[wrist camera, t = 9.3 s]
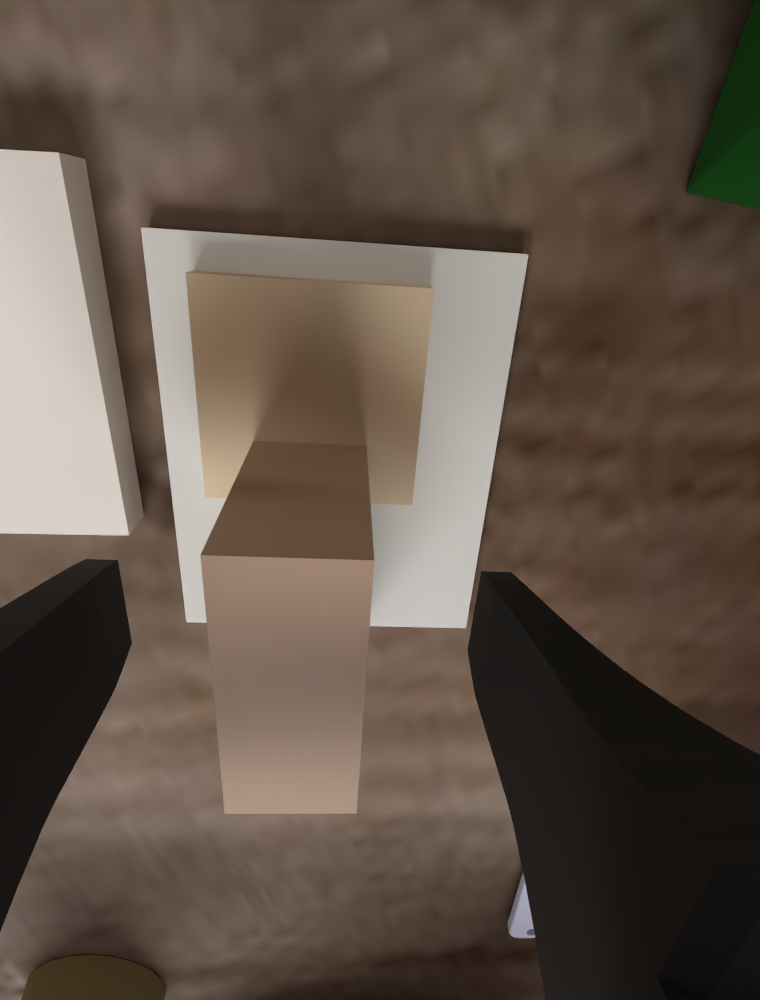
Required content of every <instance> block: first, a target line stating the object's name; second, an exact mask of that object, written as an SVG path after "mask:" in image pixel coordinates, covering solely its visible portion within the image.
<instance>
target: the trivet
mask: <svg viewBox="0 0 760 1000" xmlns="http://www.w3.org/2000/svg"><path fill="white" fill-rule="evenodd" d="M141 233H142V242H143V250H144V259H145V268H146V276H147V285H148V294H149V302H150V311H151V320H152V328H153V337H154V346H155V354H156V363H157V372H158V380H159V389H160V398H161V406H162V415H163V424H164V432H165V441H166V450H167V458H168V467H169V476H170V484H171V493H172V501H173V510H174V519H175V527H176V536H177V545H178V553H179V562H180V571H181V579H182V588H183V597H184V605H185V614H186V622H202V623H207V621H206V610H205V600H204V589H203V579H202V568H201V558H200V555H201V553H202V550H203V548H204V546H205V544H206V542H207V540H208V537H209V535H210V533H211V531H212V529H213V527H214V525H215V522H216V520H217V518H218V516H219V514H220V512H221V509H222V507H223V505H224V503H225V501H226V499H227V498H205V493H204V481H203V470H202V458H201V447H200V435H199V423H198V412H197V400H196V389H195V377H194V365H193V354H192V342H191V331H190V319H189V307H188V296H187V284H186V272H189V271H193V270H194V271H210V272H225V273H241V274H256V275H272V276H287V277H303V278H318V279H334V280H349V281H365V282H380V283H396V284H411V285H427V286H431V287H433V288H434V293H433V303H432V313H431V323H430V333H429V343H428V353H427V363H426V373H425V383H424V393H423V403H422V413H421V422H420V432H419V442H418V452H417V462H416V472H415V482H414V492H413V502H412V505H393V504H371V518H372V533H373V548H374V572H373V586H372V601H371V615H370V626H391V627H438V628H466V624H467V618H468V612H469V606H470V600H471V594H472V588H473V583H474V577H475V571H476V565H477V559H478V553H479V547H480V541H481V535H482V529H483V523H484V517H485V511H486V505H487V499H488V493H489V487H490V481H491V475H492V469H493V464H494V458H495V452H496V446H497V440H498V434H499V428H500V422H501V416H502V410H503V404H504V398H505V392H506V386H507V380H508V374H509V368H510V362H511V356H512V351H513V345H514V339H515V333H516V327H517V321H518V315H519V309H520V303H521V297H522V291H523V285H524V279H525V273H526V267H527V261H528V255H529V254H521V253H507V252H493V251H478V250H464V249H449V248H435V247H421V246H406V245H392V244H378V243H363V242H349V241H335V240H320V239H306V238H292V237H277V236H263V235H249V234H234V233H220V232H205V231H191V230H177V229H162V228H148V227H141Z"/></svg>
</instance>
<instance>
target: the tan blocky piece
mask: <svg viewBox="0 0 760 1000" xmlns="http://www.w3.org/2000/svg"><path fill="white" fill-rule="evenodd" d="M186 284H187V296H188V307H189V319H190V331H191V342H192V354H193V365H194V377H195V389H196V400H197V412H198V423H199V435H200V447H201V458H202V470H203V481H204V493H205V498H227V499H226V501H225V503H224V505H223V507H222V509H221V512H220V514H219V516H218V518H217V520H216V522H215V525H214V527H213V529H212V531H211V533H210V535H209V537H208V540H207V542H206V544H205V546H204V548H203V550H202V553H201V555H200V558H201V568H202V579H203V589H204V600H205V610H206V621H207V631H208V642H209V652H210V663H211V673H212V684H213V694H214V705H215V715H216V726H217V736H218V747H219V757H220V768H221V778H222V789H223V799H224V810H225V814H357V801H358V787H359V772H360V758H361V744H362V729H363V715H364V701H365V687H366V672H367V658H368V644H369V629H370V615H371V601H372V586H373V572H374V548H373V533H372V518H371V504H393V505H412V502H413V492H414V482H415V472H416V462H417V452H418V442H419V432H420V422H421V413H422V403H423V393H424V383H425V373H426V363H427V353H428V343H429V333H430V323H431V313H432V303H433V293H434V288H433V287H431V286H427V285H411V284H396V283H380V282H365V281H349V280H334V279H318V278H303V277H287V276H272V275H256V274H241V273H225V272H210V271H194V270H193V271H189V272H186Z"/></svg>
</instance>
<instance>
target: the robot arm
mask: <svg viewBox="0 0 760 1000" xmlns="http://www.w3.org/2000/svg"><path fill="white" fill-rule="evenodd" d="M131 644H132V641H131V635H130V629H129V623H128V618H127V612H126V606H125V600H124V594H123V588H122V582H121V577H120V571H119V565H118V560H93V559H85V560H83V561H81V562H79V563H77V564H75V565H73V566H71V567H70V568H68V569H66V570H64V571H62V572H61V573H59V574H57V575H56V576H54V577H52V578H50V579H49V580H47V581H45V582H44V583H42V584H40V585H39V586H37V587H35V588H34V589H32V590H30V591H29V592H27V593H25V594H24V595H22V596H20V597H18V598H17V599H15V600H13V601H12V602H10V603H8V604H7V605H5V606H3V607H1V608H0V931H1V928H2V926H3V923H4V921H5V918H6V915H7V913H8V910H9V908H10V905H11V903H12V900H13V898H14V895H15V893H16V890H17V887H18V885H19V882H20V880H21V878H22V875H23V873H24V870H25V868H26V866H27V863H28V861H29V859H30V856H31V854H32V851H33V849H34V847H35V844H36V842H37V839H38V837H39V835H40V832H41V830H42V828H43V825H44V823H45V821H46V819H47V817H48V815H49V813H50V811H51V809H52V807H53V805H54V803H55V801H56V799H57V797H58V795H59V793H60V791H61V789H62V787H63V786H64V784H65V782H66V780H67V778H68V776H69V774H70V773H71V771H72V769H73V767H74V765H75V763H76V761H77V760H78V758H79V756H80V754H81V752H82V750H83V748H84V747H85V745H86V743H87V741H88V739H89V737H90V735H91V734H92V732H93V730H94V728H95V726H96V724H97V722H98V720H99V718H100V717H101V715H102V713H103V711H104V709H105V707H106V705H107V703H108V701H109V699H110V698H111V696H112V694H113V692H114V690H115V687H116V685H117V682H118V680H119V677H120V674H121V672H122V669H123V666H124V664H125V661H126V658H127V655H128V652H129V649H130V647H131ZM468 655H469V661H470V668H471V674H472V680H473V685H474V691H475V696H476V699H477V703H478V706H479V710H480V713H481V716H482V720H483V723H484V726H485V730H486V733H487V736H488V740H489V743H490V746H491V749H492V753H493V756H494V759H495V762H496V766H497V769H498V772H499V776H500V779H501V782H502V785H503V789H504V792H505V795H506V798H507V802H508V806H509V810H510V813H511V817H512V821H513V825H514V830H515V835H516V840H517V845H518V850H519V855H520V859H521V864H522V869H523V873H522V877H521V880H520V883H519V887H518V890H517V893H516V897H515V900H514V903H513V907H512V910H511V913H510V917H509V920H508V930H509V934H510V935H511V936H512V937H515V938H536V944H537V950H538V956H539V962H540V968H541V974H542V980H543V986H544V991H545V997H546V1000H760V755H759V754H757V753H755V752H753V751H751V750H749V749H748V748H746V747H744V746H742V745H740V744H738V743H737V742H735V741H733V740H731V739H730V738H728V737H726V736H724V735H723V734H721V733H719V732H718V731H716V730H714V729H713V728H711V727H709V726H707V725H706V724H704V723H702V722H701V721H699V720H697V719H695V718H694V717H692V716H691V715H689V714H687V713H686V712H684V711H683V710H681V709H680V708H678V707H676V706H675V705H673V704H672V703H670V702H669V701H667V700H666V699H664V698H663V697H661V696H660V695H659V694H657V693H656V692H654V691H653V690H651V689H650V688H648V687H647V686H645V685H644V684H642V683H641V682H639V681H638V680H637V679H635V678H634V677H633V676H631V675H630V674H629V673H627V672H626V671H624V670H623V669H622V668H621V667H619V666H618V665H617V664H615V663H614V662H613V661H612V660H610V659H609V658H608V657H607V656H605V655H604V654H603V653H602V652H600V651H599V650H598V649H596V648H595V647H594V646H593V645H592V644H590V643H589V642H588V641H587V640H586V639H584V638H583V637H582V636H581V635H580V634H579V633H577V632H576V631H575V630H574V629H573V628H572V627H571V626H569V625H568V624H567V623H566V622H565V621H564V620H563V619H562V618H560V617H559V616H558V615H557V614H556V613H555V612H554V611H553V610H552V609H551V608H549V607H548V606H547V605H546V604H545V603H544V602H543V601H542V600H541V599H540V598H539V597H538V596H536V595H535V594H534V593H533V592H532V591H531V590H530V589H529V588H528V587H527V586H526V585H525V584H524V583H522V582H521V581H520V580H519V579H518V578H517V577H516V576H514V575H513V574H512V573H511V572H482V571H481V576H480V582H479V588H478V593H477V599H476V605H475V611H474V616H473V622H472V628H471V634H470V640H469V645H468Z"/></svg>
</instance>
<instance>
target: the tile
mask: <svg viewBox="0 0 760 1000" xmlns="http://www.w3.org/2000/svg"><path fill="white" fill-rule="evenodd" d="M143 515H144V513H143V507H142V501H141V495H140V489H139V482H138V476H137V470H136V464H135V458H134V452H133V446H132V440H131V434H130V428H129V422H128V416H127V410H126V404H125V398H124V391H123V385H122V379H121V373H120V367H119V361H118V355H117V349H116V343H115V337H114V331H113V325H112V319H111V313H110V307H109V300H108V294H107V288H106V282H105V276H104V270H103V264H102V258H101V252H100V246H99V240H98V234H97V228H96V222H95V216H94V209H93V203H92V197H91V191H90V185H89V179H88V173H87V167H86V161H85V159H83V158H79V157H75V156H71V155H67V154H63V153H58V152H40V151H22V150H5V149H0V533H16V534H75V535H130V533H131V532H132V531H133V529H134V528H135V527H136V525H137V524H138V522H139V521H140V520H141V518H142V517H143Z"/></svg>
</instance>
